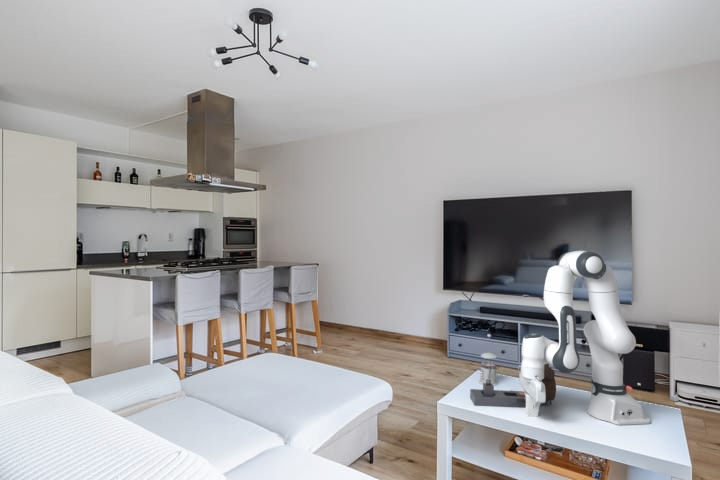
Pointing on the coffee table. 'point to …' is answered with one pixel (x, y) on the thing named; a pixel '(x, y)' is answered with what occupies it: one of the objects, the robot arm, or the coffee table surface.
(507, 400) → the strip
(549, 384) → the alarm clock
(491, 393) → the twin plug
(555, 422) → the coffee table surface
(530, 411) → the white rectangular bottle
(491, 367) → the french press
